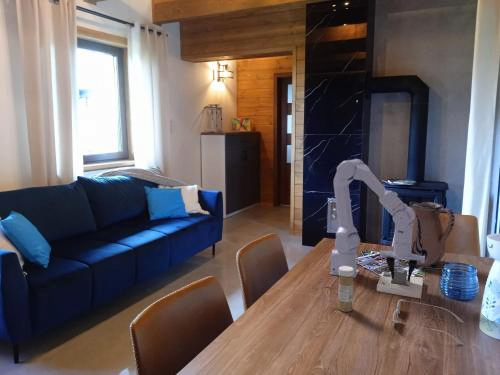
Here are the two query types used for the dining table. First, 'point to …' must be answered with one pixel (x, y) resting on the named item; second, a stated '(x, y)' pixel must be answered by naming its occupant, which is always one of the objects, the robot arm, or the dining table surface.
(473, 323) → the dining table surface
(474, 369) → the dining table surface
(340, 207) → the robot arm
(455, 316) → the eyeglasses
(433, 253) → the ceramic pitcher
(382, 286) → the socket plate
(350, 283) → the sprinkles bottle
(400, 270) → the plug
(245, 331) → the dining table surface
